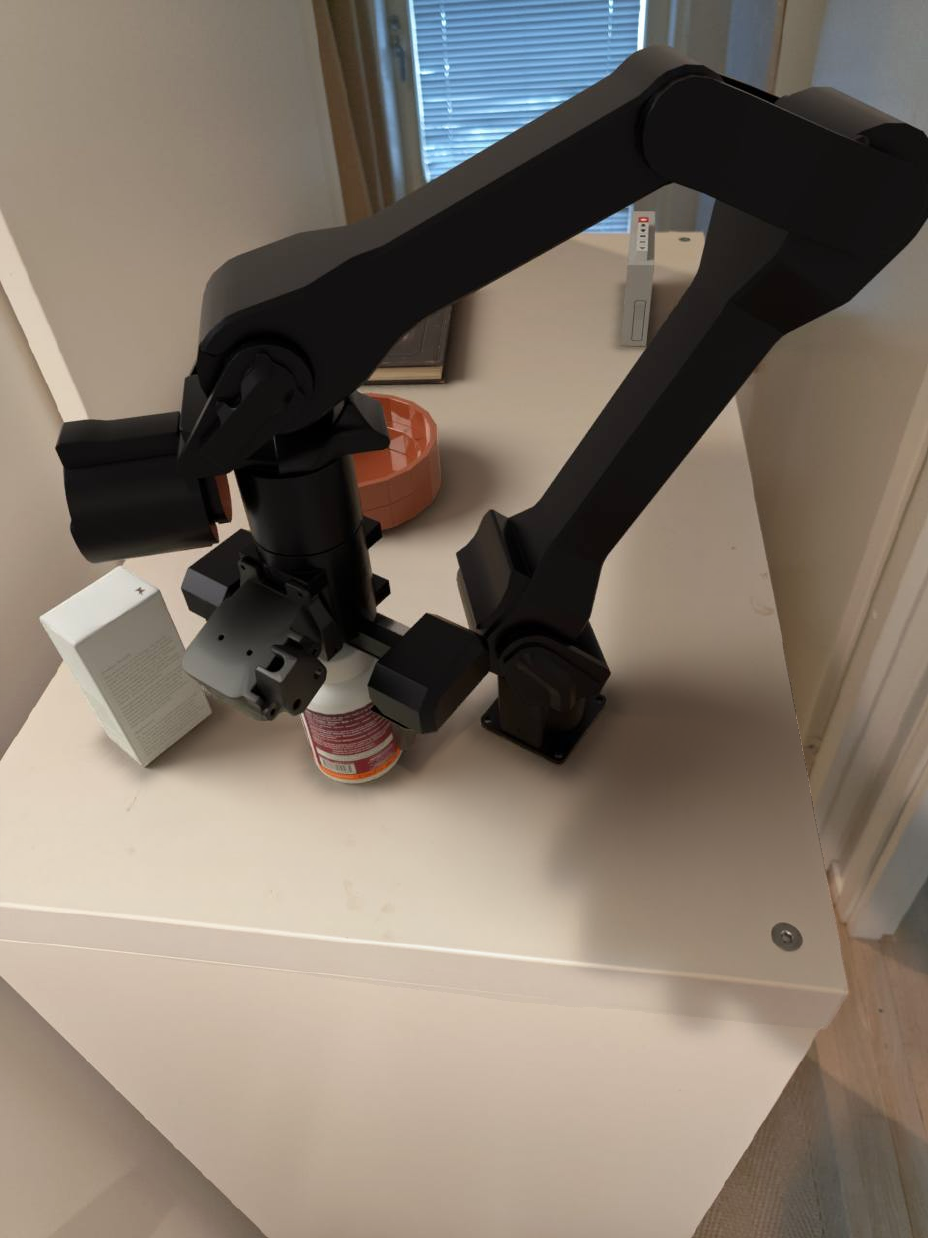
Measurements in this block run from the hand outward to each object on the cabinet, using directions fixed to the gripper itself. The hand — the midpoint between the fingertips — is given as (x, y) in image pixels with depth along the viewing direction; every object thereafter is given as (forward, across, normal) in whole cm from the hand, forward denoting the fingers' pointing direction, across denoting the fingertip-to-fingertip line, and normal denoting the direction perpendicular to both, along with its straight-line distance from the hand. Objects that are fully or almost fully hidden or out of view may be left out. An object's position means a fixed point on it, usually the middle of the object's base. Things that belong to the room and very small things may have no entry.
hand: (350, 714), depth 54 cm
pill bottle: (+4, 0, 0) cm, 4 cm away
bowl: (+4, -19, +23) cm, 30 cm away
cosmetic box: (+4, -13, -6) cm, 15 cm away
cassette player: (+4, -13, +67) cm, 68 cm away
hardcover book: (+4, -36, +48) cm, 60 cm away
